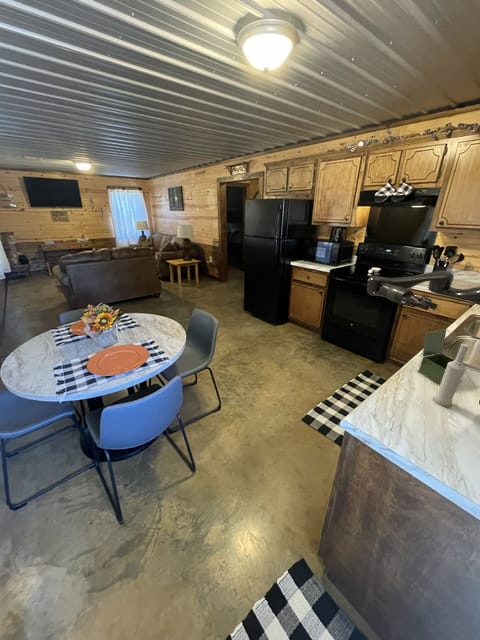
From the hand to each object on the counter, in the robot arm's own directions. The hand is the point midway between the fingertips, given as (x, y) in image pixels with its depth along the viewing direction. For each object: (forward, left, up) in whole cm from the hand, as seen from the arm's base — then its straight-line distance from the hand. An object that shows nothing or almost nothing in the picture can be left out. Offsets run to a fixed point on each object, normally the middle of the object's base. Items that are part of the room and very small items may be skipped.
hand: (432, 307), depth 114 cm
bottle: (+22, +18, -28) cm, 40 cm away
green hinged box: (+4, +11, -28) cm, 30 cm away
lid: (+2, +6, -15) cm, 16 cm away
